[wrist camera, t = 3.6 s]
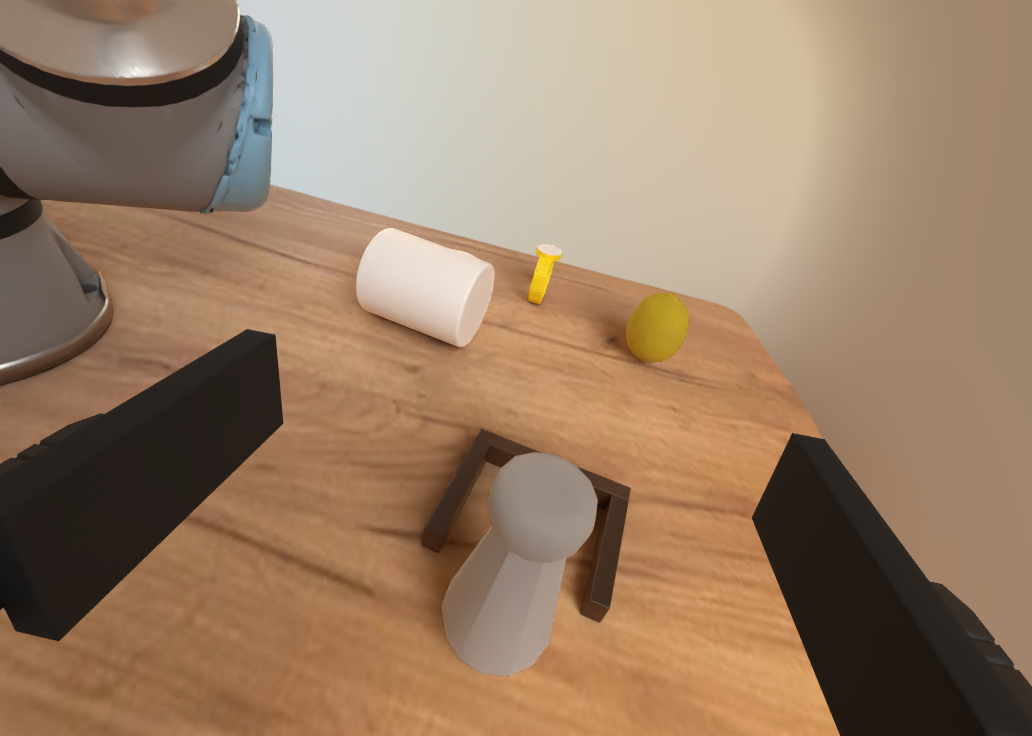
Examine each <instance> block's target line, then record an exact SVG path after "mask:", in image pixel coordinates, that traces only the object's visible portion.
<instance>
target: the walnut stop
mask: <svg viewBox="0 0 1032 736" xmlns="http://www.w3.org/2000/svg"><path fill="white" fill-rule="evenodd" d="M533 452H538V451H536V450H533V449H531V448H528V447H526V446H523V445H521V444H518V443H516V442H513V441H511V440H508V439H506V438H503V437H501V436H498V435H496V434H493V433H491V432H488V431H485V430H483V429H481V430H480V432H479V433H478V435H477V437H476V439H475V440H474V442H473V444H472V445H471V447H470V449H469V451H468V452H467V454H466V456H465V458H464V459H463V461H462V463H461V465H460V466H459V468H458V470H457V472H456V473H455V475H454V477H453V479H452V480H451V482H450V484H449V486H448V488H447V489H446V491H445V493H444V495H443V496H442V498H441V500H440V502H439V503H438V505H437V507H436V509H435V510H434V512H433V514H432V516H431V517H430V519H429V521H428V523H427V524H426V526H425V528H424V532H423V538H422V546H424V547H426V548H429V549H431V550H433V551H435V552H438V553H439V552H440V550H441V548H442V546H443V544H444V542H445V541H446V539H447V537H448V535H449V533H450V531H451V529H452V527H453V525H454V523H455V521H456V519H457V517H458V515H459V513H460V511H461V510H462V508H463V506H464V504H465V502H466V500H467V498H468V496H469V494H470V492H471V490H472V488H473V486H474V484H475V482H476V480H477V479H478V477H479V475H480V473H481V471H482V469H483V467H484V465H485V463H486V461H487V462H489V463H492V464H494V465H497V466H499V467H503V466H504V465H505V464H507V463H508V462H509V461H510V460H511V459H513V458H514V457H515V456H519V455H523V454H528V453H533ZM538 453H541V452H538ZM578 469H579V470H580V471H581V472H582V473H583V474H584V475H585V476H586V477H587V478H588V479H589V480H590V481H591V483H592V486H593V489H594V491H595V494H596V497H597V499H598V502H597V506H598V507H601V508H603V509H604V512H603V516H602V521H601V525H600V530H599V534H598V539H597V543H596V548H595V552H594V557H593V561H592V566H591V570H590V575H589V579H588V584H587V588H586V593H585V597H584V602H583V606H582V611H581V615H583V616H585V617H588V618H590V619H592V620H594V621H597V622H601V620H602V619H603V617H604V616H605V615H606V613H607V612H608V610H609V609H610V604H611V598H612V593H613V587H614V581H615V576H616V570H617V564H618V558H619V553H620V547H621V541H622V535H623V530H624V524H625V518H626V513H627V507H628V501H629V495H630V490H631V489H630V488H629V487H627V486H624V485H622V484H619V483H617V482H614V481H612V480H609V479H607V478H604V477H602V476H599V475H597V474H594V473H592V472H589V471H586V470H584V469H581V468H579V467H578Z"/></svg>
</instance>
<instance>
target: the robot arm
mask: <svg viewBox="0 0 1032 736" xmlns="http://www.w3.org/2000/svg"><path fill="white" fill-rule="evenodd" d="M272 107H273V43H272V35H271V32H270V31H269V30H268V28H267V27H266V26H265V25H264V24H262V23H260V22H257V21H254V20H253V19H252V18H251V17H250V16H243V15H240V14H239V8H238V3H237V0H0V385H1V384H4V383H8V382H12V381H15V380H19V379H22V378H25V377H28V376H31V375H34V374H36V373H39V372H42V371H44V370H47V369H49V368H51V367H54V366H56V365H58V364H60V363H62V362H64V361H66V360H68V359H70V358H72V357H74V356H75V355H77V354H79V353H80V352H82V351H83V350H85V349H86V348H87V347H89V346H90V345H91V344H93V343H94V342H95V341H96V340H97V339H98V338H99V337H100V336H101V335H102V334H103V333H104V332H105V330H106V329H107V327H108V326H109V324H110V322H111V319H112V315H113V308H112V304H111V301H110V298H109V295H108V291H107V286H106V281H105V280H104V278H103V276H102V274H101V273H100V271H99V274H100V277H99V276H98V274H97V273H96V272H95V271H94V270H93V269H92V267H91V266H90V265H89V264H88V263H87V262H86V260H85V259H84V258H83V257H82V256H81V255H80V254H79V252H78V251H77V250H76V249H75V248H74V247H73V245H72V244H71V243H70V242H69V241H68V240H67V239H66V237H65V236H64V235H63V234H62V233H61V232H60V230H59V229H58V228H57V227H56V226H55V225H54V224H53V222H52V221H51V220H50V219H49V218H48V216H47V215H46V212H45V210H44V208H43V206H42V203H41V201H40V200H54V201H67V202H79V203H92V204H105V205H117V206H130V207H143V208H155V209H168V210H181V211H193V212H200V213H203V214H209V213H212V212H214V211H237V212H248V211H253V210H256V209H258V208H260V207H261V206H262V205H263V204H264V203H265V202H266V200H267V198H268V195H269V188H270V175H271V148H272V145H271V144H272V133H271V132H272V131H271V125H272ZM282 424H283V414H282V403H281V392H280V380H279V369H278V358H277V347H276V336H275V334H269V333H264V332H259V331H254V330H248V329H247V330H245V331H243V332H242V333H240V334H238V335H237V336H235V337H233V338H232V339H230V340H228V341H227V342H225V343H223V344H222V345H220V346H218V347H217V348H215V349H213V350H211V351H210V352H208V353H206V354H205V355H203V356H201V357H200V358H198V359H196V360H195V361H193V362H191V363H190V364H188V365H186V366H185V367H183V368H181V369H180V370H178V371H176V372H175V373H173V374H171V375H169V376H168V377H166V378H164V379H163V380H161V381H159V382H158V383H156V384H154V385H153V386H151V387H149V388H148V389H146V390H144V391H143V392H141V393H139V394H138V395H136V396H134V397H133V398H131V399H129V400H127V401H126V402H124V403H122V404H121V405H119V406H117V407H116V408H114V409H112V410H111V411H109V412H107V413H106V414H98V415H95V416H92V417H89V418H87V419H84V420H81V421H78V422H75V423H72V424H70V425H67V426H66V427H64V428H62V429H60V430H59V431H57V432H55V433H53V434H52V435H50V436H48V437H46V438H45V439H43V440H41V441H40V444H39V445H37V444H34V445H32V446H31V447H29V448H27V449H25V450H24V451H22V452H20V453H19V454H17V457H16V458H10V459H8V460H6V461H5V462H3V463H1V464H0V610H1V609H2V608H3V607H4V609H5V611H6V613H7V615H8V617H9V619H10V621H11V623H12V625H13V627H14V629H15V631H17V632H22V633H26V634H30V635H34V636H39V637H43V638H47V639H51V640H56V641H60V640H61V639H62V638H63V637H64V636H65V635H66V634H67V633H68V632H69V631H70V630H71V629H72V628H73V627H74V626H75V625H76V624H77V623H78V622H79V621H80V620H81V619H82V618H83V617H84V616H85V615H86V614H87V613H89V612H90V611H91V610H92V609H93V608H94V607H95V606H96V605H97V604H98V603H99V602H100V601H101V600H102V599H103V598H104V597H105V596H106V595H107V594H108V593H109V592H110V591H111V590H112V589H113V588H114V587H115V586H116V585H117V584H118V583H119V582H120V581H121V580H123V579H124V578H125V577H126V576H127V575H128V574H129V573H130V572H131V571H132V570H133V569H134V568H135V567H136V566H137V565H138V564H139V563H140V562H141V561H142V560H143V559H144V558H145V557H146V556H147V555H148V554H149V553H150V552H151V551H152V550H153V549H154V548H155V547H157V546H158V545H159V544H160V543H161V542H162V541H163V540H164V539H165V538H166V537H167V536H168V535H169V534H170V533H171V532H172V531H173V530H174V529H175V528H176V527H177V526H178V525H179V524H180V523H181V522H182V521H183V520H184V519H185V518H186V517H187V516H188V515H190V514H191V513H192V512H193V511H194V510H195V509H196V508H197V507H198V506H199V505H200V504H201V503H202V502H203V501H204V500H205V499H206V498H207V497H208V496H209V495H210V494H211V493H212V492H213V491H214V490H215V489H216V488H217V487H218V486H219V485H220V484H221V483H222V482H224V481H225V480H226V479H227V478H228V477H229V476H230V475H231V474H232V473H233V472H234V471H235V470H236V469H237V468H238V467H239V466H240V465H241V464H242V463H243V462H244V461H245V460H246V459H247V458H248V457H249V456H250V455H251V454H252V453H253V452H254V451H255V450H256V449H258V448H259V447H260V446H261V445H262V444H263V443H264V442H265V441H266V440H267V439H268V438H269V437H270V436H271V435H272V434H273V433H274V432H275V431H276V430H277V429H278V428H279V427H280V426H281V425H282ZM752 520H753V522H754V525H755V527H756V530H757V532H758V535H759V537H760V539H761V542H762V544H763V547H764V549H765V552H766V554H767V557H768V559H769V562H770V564H771V567H772V569H773V571H774V574H775V576H776V579H777V581H778V584H779V586H780V589H781V591H782V594H783V596H784V599H785V601H786V603H787V606H788V608H789V611H790V613H791V616H792V618H793V621H794V623H795V626H796V628H797V631H798V633H799V635H800V638H801V640H802V643H803V645H804V648H805V650H806V653H807V655H808V658H809V660H810V663H811V665H812V667H813V670H814V672H815V675H816V677H817V680H818V682H819V685H820V687H821V690H822V692H823V695H824V697H825V699H826V702H827V704H828V707H829V709H830V712H831V714H832V717H833V719H834V722H835V724H836V727H837V729H838V731H839V734H840V736H1032V686H1031V685H1030V684H1029V682H1028V681H1027V680H1026V679H1025V677H1024V676H1023V675H1022V674H1021V672H1020V671H1019V670H1015V669H1014V667H1013V665H1014V663H1013V662H1012V661H1011V659H1010V658H1009V657H1008V656H1007V654H1006V653H1005V652H1004V651H1003V649H1002V648H1001V647H1000V645H996V644H995V643H994V641H995V639H994V638H993V636H992V635H991V634H990V633H989V631H988V630H987V629H986V628H985V626H984V625H983V624H982V622H981V621H980V620H979V619H978V617H977V616H976V615H975V613H974V612H973V611H972V610H971V609H970V608H969V607H968V606H966V605H965V604H964V603H963V602H962V601H961V600H959V599H958V598H957V597H956V596H955V595H954V594H953V593H951V592H950V591H949V590H948V589H947V588H946V587H945V586H944V585H942V584H939V583H934V582H929V580H928V579H927V578H926V577H925V575H924V574H923V572H922V571H921V570H920V568H919V567H918V565H917V564H916V563H915V561H914V560H913V559H912V557H911V556H910V555H909V554H908V552H907V551H906V549H905V548H904V546H903V545H902V544H901V542H900V541H899V540H898V539H897V537H896V536H895V534H894V533H893V532H892V530H891V529H890V528H889V526H888V525H887V524H886V522H885V521H884V519H883V518H882V517H881V515H880V514H879V513H878V511H877V510H876V509H875V507H874V506H873V505H872V503H871V502H870V500H869V499H868V498H867V496H866V495H865V494H864V492H863V491H862V490H861V488H860V487H859V485H858V484H857V483H856V481H855V480H854V479H853V477H852V476H851V475H850V473H849V472H848V471H847V469H846V468H845V467H844V465H843V464H842V462H841V461H840V460H839V458H838V457H837V456H836V454H835V453H834V452H833V450H832V449H831V448H830V446H829V445H828V443H827V442H826V441H825V439H820V438H815V437H809V436H804V435H799V434H794V433H792V435H791V437H790V439H789V441H788V443H787V445H786V447H785V449H784V452H783V454H782V456H781V458H780V460H779V462H778V464H777V466H776V468H775V470H774V472H773V474H772V477H771V479H770V481H769V483H768V485H767V487H766V489H765V491H764V493H763V495H762V497H761V500H760V502H759V504H758V506H757V508H756V510H755V512H754V514H753V516H752Z"/></svg>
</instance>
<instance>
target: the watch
mask: <svg viewBox="0 0 1032 736" xmlns="http://www.w3.org/2000/svg"><path fill="white" fill-rule="evenodd" d="M536 254H537V255H538V256H539V257H540V258H539V260H538V264H537V266H536V269H535V272H534V276H533V279H532V282H531V286H530V290H529V295H528V301H530V302H533V303H536V304H540V303H541V300H542V298H543V296H544V294H545V291H546V288H547V285H548V282H549V279H550V276H551V272H552V269H553V266H554V262H555V261H557V260H560V258H561V256H562V251H561V250H560V249H559V248H557V247H555V246H552V245H549V244H539V245H538V246H537V248H536Z"/></svg>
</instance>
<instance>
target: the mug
mask: <svg viewBox="0 0 1032 736" xmlns="http://www.w3.org/2000/svg"><path fill="white" fill-rule="evenodd" d="M493 285H494V268H493V266H492V265H491V264H490V263H488V262H485V261H482V260H479V259H478V258H476V257H475V256H473V255H471V254H469V253H466V252H463V251H459V250H452V249H449V248H446V247H444V246H441V245H438V244H435V243H433V242H430V241H427V240H424V239H422V238H419V237H416V236H413V235H411V234H408V233H405V232H402V231H400V230H397V229H394V228H387V229H384V230H382V231H381V232H379V233H378V234H377V235H376V236H375V237H374V238H373V239H372V241H371V242H370V243H369V245H368V246H367V248H366V250H365V252H364V254H363V256H362V259H361V261H360V264H359V268H358V272H357V277H356V296H357V300H358V302H359V304H360V306H361V307H362V308H363V309H364V310H366V311H368V312H371V313H373V314H376V315H378V316H381V317H383V318H386V319H389V320H391V321H394V322H396V323H399V324H401V325H404V326H406V327H409V328H411V329H414V330H416V331H419V332H421V333H424V334H427V335H429V336H432V337H434V338H437V339H439V340H442V341H444V342H447V343H449V344H452V345H454V346H457V347H464V346H466V345H467V344H468V343H469V342H470V341H471V340H472V338H473V337H474V335H475V334H476V332H477V330H478V329H479V327H480V325H481V323H482V321H483V318H484V316H485V313H486V311H487V308H488V305H489V302H490V299H491V295H492V291H493Z"/></svg>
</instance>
